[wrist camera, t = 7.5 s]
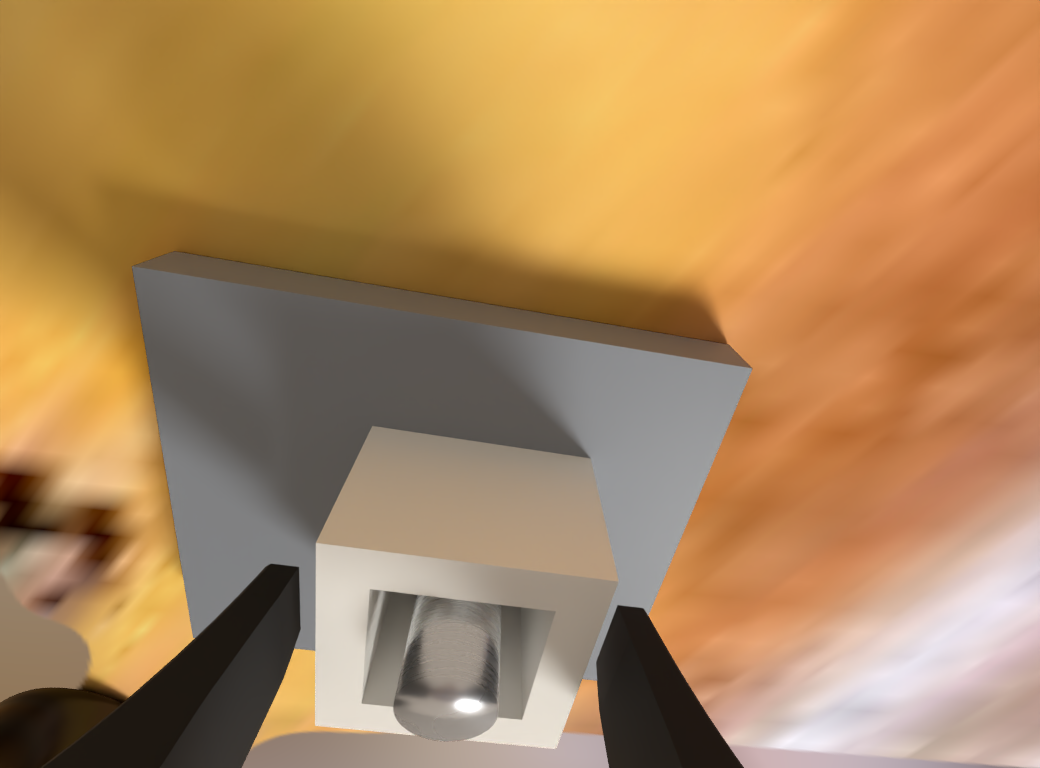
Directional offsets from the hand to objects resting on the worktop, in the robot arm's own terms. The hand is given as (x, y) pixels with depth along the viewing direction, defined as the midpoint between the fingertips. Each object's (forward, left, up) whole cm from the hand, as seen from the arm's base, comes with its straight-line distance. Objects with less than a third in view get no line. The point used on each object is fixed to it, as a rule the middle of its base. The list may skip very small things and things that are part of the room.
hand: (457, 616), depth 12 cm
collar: (0, 0, -3) cm, 3 cm away
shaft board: (+1, 0, -4) cm, 5 cm away
